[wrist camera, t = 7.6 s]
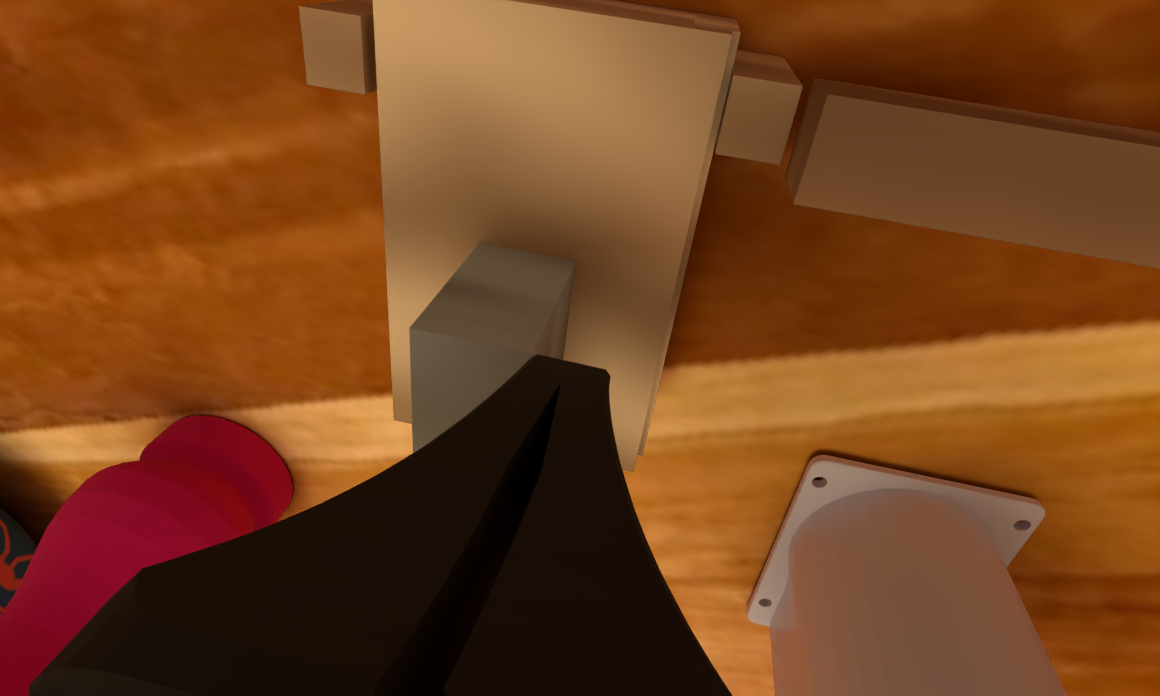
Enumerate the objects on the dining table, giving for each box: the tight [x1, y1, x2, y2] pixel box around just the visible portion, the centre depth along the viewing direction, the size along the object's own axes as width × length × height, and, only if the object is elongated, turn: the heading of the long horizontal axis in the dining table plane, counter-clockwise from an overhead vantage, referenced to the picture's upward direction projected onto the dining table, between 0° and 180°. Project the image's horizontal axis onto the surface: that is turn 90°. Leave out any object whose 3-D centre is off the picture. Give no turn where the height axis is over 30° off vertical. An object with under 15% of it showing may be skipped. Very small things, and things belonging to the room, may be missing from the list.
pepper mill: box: [0, 415, 293, 696], centre depth 21 cm, size 7×7×20 cm
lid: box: [373, 0, 732, 472], centre depth 15 cm, size 12×8×5 cm, turn 173°
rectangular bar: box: [785, 78, 1160, 268], centre depth 12 cm, size 2×10×2 cm, turn 83°
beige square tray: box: [299, 0, 803, 456], centre depth 18 cm, size 12×11×4 cm
